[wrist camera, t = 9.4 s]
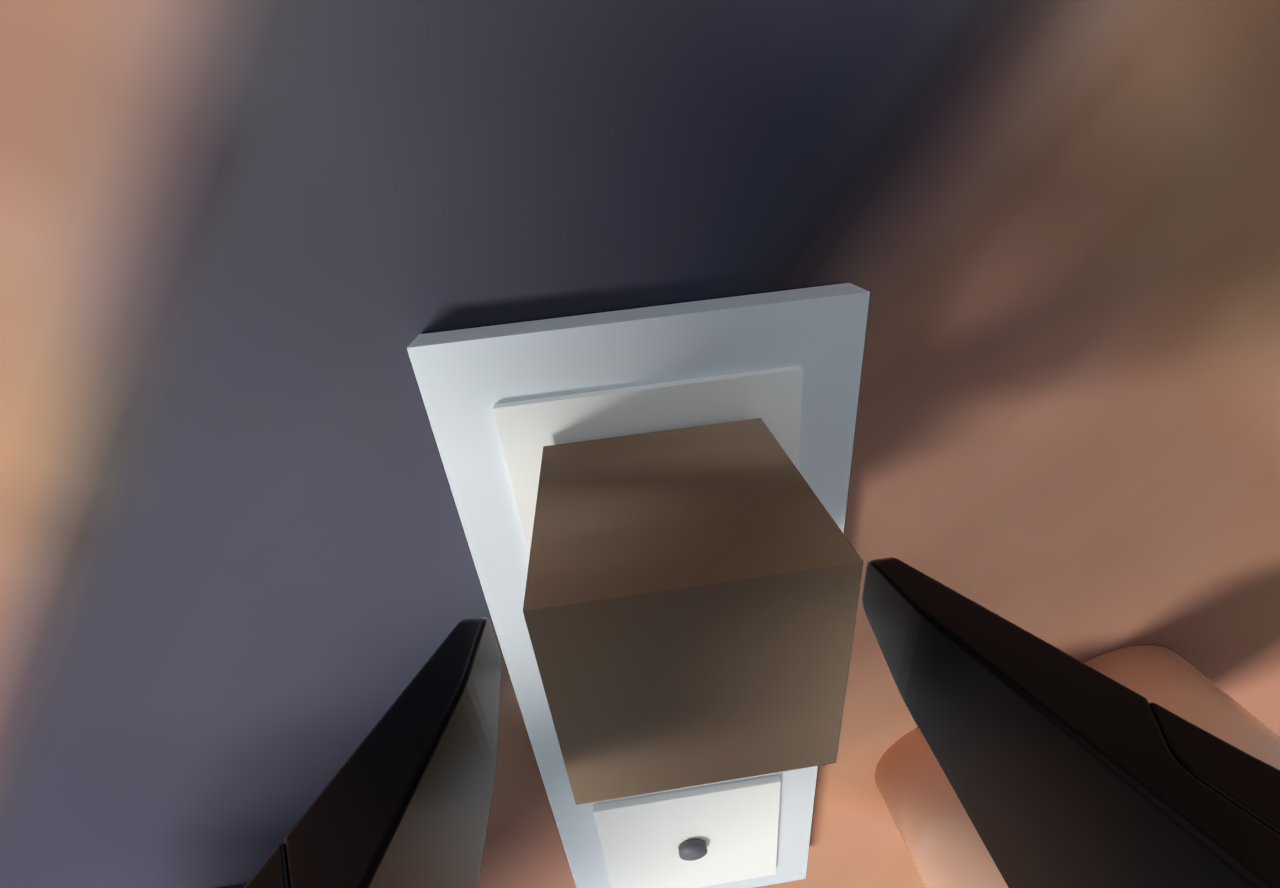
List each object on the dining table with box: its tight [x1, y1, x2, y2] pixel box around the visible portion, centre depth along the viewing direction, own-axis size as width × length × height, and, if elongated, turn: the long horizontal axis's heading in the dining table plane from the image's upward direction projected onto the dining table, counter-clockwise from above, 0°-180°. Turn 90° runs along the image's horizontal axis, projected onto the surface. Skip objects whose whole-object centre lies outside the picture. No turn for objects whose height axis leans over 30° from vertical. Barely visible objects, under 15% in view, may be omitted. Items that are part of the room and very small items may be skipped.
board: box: [407, 283, 870, 888], centre depth 14 cm, size 8×21×1 cm, turn 6°
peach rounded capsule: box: [875, 728, 1008, 888], centre depth 16 cm, size 5×5×5 cm
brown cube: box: [523, 418, 863, 805], centre depth 9 cm, size 4×4×4 cm
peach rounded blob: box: [1084, 645, 1280, 770], centre depth 15 cm, size 5×5×5 cm
